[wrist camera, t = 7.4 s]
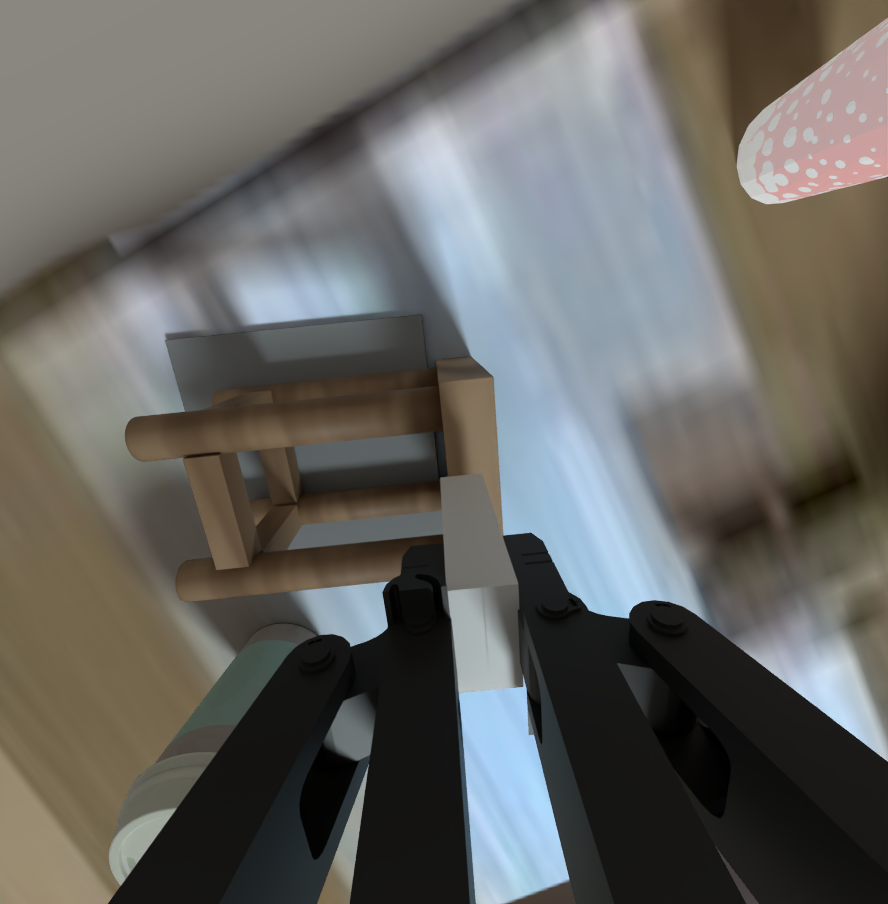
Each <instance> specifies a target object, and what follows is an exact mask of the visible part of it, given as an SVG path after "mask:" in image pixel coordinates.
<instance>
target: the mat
mask: <svg viewBox="0 0 888 904" xmlns="http://www.w3.org/2000/svg"><path fill="white" fill-rule="evenodd" d="M165 342H166V346H167V349H168V353H169V356H170V360H171V363H172V367H173V370H174V374H175V377H176V381H177V384H178V388H179V391H180V395H181V398H182V402H183V405H184V409H185V412H189V411H198V410H203V409H205V408H208V407H210V406H212V397H213V394H214V392H215V391H217V390H225V389H235V388H245V387H254V386H264V385H274V384H283V383H293V382H303V381H313V380H322V379H332V378H342V377H351V376H361V375H371V374H380V373H390V372H400V371H409V370H419V369H427V361H426V352H425V342H424V333H423V324H422V315H412V316H402V317H392V318H382V319H372V320H362V321H352V322H342V323H332V324H322V325H312V326H302V327H292V328H282V329H272V330H262V331H252V332H242V333H232V334H222V335H212V336H202V337H192V338H182V339H172V340H165ZM294 449H295V454H296V459H297V463H298V468H299V473H300V477H301V482H302V486H303V491H304V493H303V495H304V494H313V493H323V492H333V491H343V490H352V489H362V488H372V487H382V486H391V485H401V484H411V483H421V482H430V481H439V475H438V465H437V456H436V446H435V437H434V432H428V433H419V434H409V435H399V436H390V437H380V438H370V439H360V440H351V441H341V442H331V443H321V444H312V445H302V446H294ZM237 456H238V460H239V464H240V468H241V471H242V475H243V479H244V483H245V487H246V491H247V494H248V498H249V500H255V499H264V498H271V496H270V492H269V488H268V484H267V480H266V476H265V471H264V467H263V463H262V459H261V455H260V451H259V450H253V451H244V452H237ZM301 526H302V527H301V528H300V530H299V531H298V533H297V534H296V536H295V538H294V539H293V541H292V542H291V544H290V546H289V547H288V549H287V550H293V549H302V548H312V547H322V546H332V545H341V544H351V543H361V542H371V541H381V540H390V539H400V538H410V537H420V536H430V535H439V534H443V522H442V511H435V512H426V513H416V514H406V515H396V516H386V517H377V518H367V519H357V520H347V521H338V522H328V523H318V524H308V525H301Z"/></svg>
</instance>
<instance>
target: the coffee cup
mask: <svg viewBox="0 0 888 904" xmlns="http://www.w3.org/2000/svg"><path fill="white" fill-rule="evenodd" d="M316 636H317V635H315V634H314V633H313V632H311V631H310V630H308V629H306V628H304V627H301V626H298V625H294V624H286V623H282V624H273V625H269V626H266V627H264V628H262V629H260V630H259V631H257V632H256V633H255V634H254V635H253V636H252V637H251V638H250V639H249V641H248V642H247V643H246V644H245V646H244V647H243V648H242V650H241V651H240V652H239V654H238V655H237V656H236V657H235V659H234V660H233V661H232V663H231V664H230V665H229V667H228V668H227V669H226V671H225V672H224V673H223V674H222V676H221V677H220V678H219V680H218V681H217V682H216V684H215V685H214V686H213V688H212V689H211V690H210V692H209V693H208V694H207V696H206V697H205V698H204V699H203V701H202V702H201V703H200V705H199V706H198V707H197V709H196V710H195V711H194V713H193V714H192V715H191V717H190V718H189V719H188V720H187V722H186V723H185V724H184V726H183V727H182V728H181V730H180V731H179V732H178V734H177V735H176V736H175V738H174V739H173V740H172V742H171V743H170V744H169V745H168V747H167V748H166V749H165V751H164V752H163V753H162V755H161V756H160V757H159V759H158V760H157V761H156V763H155V764H154V765H152V766H150V767H149V768H147V769H146V770H145V771H143V772H142V773H141V774H140V775H139V776H138V777H137V778H136V779H135V781H134V782H133V784H132V785H131V787H130V789H129V791H128V794H127V797H126V799H125V801H124V802H123V804H122V806H121V809H120V812H119V816H118V826H117V829H116V831H115V834H114V837H113V839H112V842H111V845H110V849H109V863H110V867H111V870H112V873H113V875H114V877H115V878H116V880H117V881H118V883H119V884H120V885H122V884H123V882H124V881H125V879H126V878H127V877H128V875H129V874H130V872H131V871H132V870H133V868H134V867H135V866H136V864H137V863H138V861H139V860H140V859H141V857H142V856H143V854H144V853H145V852H146V850H147V849H148V848H149V846H150V845H151V843H152V842H153V841H154V839H155V838H156V836H157V835H158V834H159V832H160V831H161V830H162V828H163V827H164V825H165V824H166V823H167V821H168V820H169V818H170V817H171V816H172V814H173V813H174V812H175V810H176V809H177V807H178V806H179V805H180V803H181V802H182V800H183V799H184V798H185V796H186V795H187V794H188V792H189V791H190V789H191V788H192V787H193V785H194V784H195V782H196V781H197V780H198V778H199V777H200V776H201V774H202V773H203V771H204V770H205V769H206V767H207V766H208V764H209V763H210V762H211V760H212V759H213V758H214V756H215V755H216V753H217V752H218V751H219V749H220V748H221V746H222V745H223V744H224V742H225V741H226V740H227V738H228V737H229V735H230V734H231V733H232V731H233V730H234V728H235V727H236V726H237V724H238V723H239V722H240V720H241V719H242V717H243V716H244V715H245V713H246V712H247V710H248V709H249V708H250V706H251V705H252V704H253V702H254V701H255V699H256V698H257V697H258V695H259V694H260V692H261V691H262V690H263V688H264V687H265V686H266V684H267V683H268V681H269V680H270V679H271V677H272V676H273V674H274V673H275V672H276V670H277V669H278V668H279V666H280V665H281V663H282V662H283V661H284V659H285V658H286V656H287V655H288V654H289V653H290V652H291V651H292V650H293V649H294V648H295V647H296V646H298V645H299V644H301V643H303V642H304V641H306V640H308V639H310V638H313V637H316Z"/></svg>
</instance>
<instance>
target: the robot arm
mask: <svg viewBox="0 0 888 904" xmlns="http://www.w3.org/2000/svg"><path fill="white" fill-rule="evenodd" d="M440 486H441V504H442V522H443V540H444V543H437V544H427V545H417V546H411V547H410V548H409V549H408V550H407V551H406V553H405V554H404V555H403V557H402V565H401V574H400V575H399V576H397V577H395V578H393V579H392V580H391V581H390V582H389V583H388V584H386V586H385V588H384V590H383V598H384V605H385V611H386V617H387V623H388V628H387V629H386V630H385V631H384V632H383V633H382V634H380V635H379V636H377V637H376V638H373V639H371V640H369V641H366V642H364V643H361V644H358V645H355V646H352V647H350V643H349V642H348V641H347V640H346V639H345V638H343V637H341V636H337V635H333V634H330V635H319V636H316V637H313V638H310V639H308V640H306V641H304V642H303V643H301V644H299V645H298V646H296V647H295V648H294V649H293V650H292V651H291V652H290V653H289V654H288V655H287V656H286V658H285V659H284V661H283V662H282V663H281V665H280V666H279V668H278V669H277V670H276V672H275V673H274V674H273V676H272V677H271V679H270V680H269V681H268V683H267V684H266V686H265V687H264V688H263V690H262V691H261V692H260V694H259V695H258V697H257V698H256V699H255V701H254V702H253V704H252V705H251V706H250V708H249V709H248V710H247V712H246V713H245V715H244V716H243V717H242V719H241V720H240V722H239V723H238V724H237V726H236V727H235V728H234V730H233V731H232V733H231V734H230V735H229V737H228V738H227V740H226V741H225V742H224V744H223V745H222V746H221V748H220V749H219V751H218V752H217V753H216V755H215V756H214V758H213V759H212V760H211V762H210V763H209V764H208V766H207V767H206V769H205V770H204V771H203V773H202V774H201V776H200V777H199V778H198V780H197V781H196V782H195V784H194V785H193V787H192V788H191V789H190V791H189V792H188V794H187V795H186V796H185V798H184V799H183V800H182V802H181V803H180V805H179V806H178V807H177V809H176V810H175V812H174V813H173V814H172V816H171V817H170V818H169V820H168V821H167V823H166V824H165V825H164V827H163V828H162V830H161V831H160V832H159V834H158V835H157V836H156V838H155V839H154V841H153V842H152V843H151V845H150V846H149V848H148V849H147V850H146V852H145V853H144V854H143V856H142V857H141V859H140V860H139V861H138V863H137V864H136V866H135V867H134V868H133V870H132V871H131V872H130V874H129V875H128V877H127V878H126V879H125V881H124V882H123V884H122V885H121V886H120V888H119V889H118V890H117V892H116V893H115V895H114V896H113V897H112V899H111V900H110V902H109V903H108V904H317V902H318V899H319V897H320V894H321V891H322V888H323V886H324V883H325V880H326V878H327V875H328V872H329V870H330V867H331V864H332V861H333V859H334V856H335V853H336V851H337V848H338V845H339V843H340V840H341V837H342V835H343V832H344V829H345V826H346V824H347V821H348V818H349V816H350V813H351V810H352V808H353V805H354V802H355V799H356V797H357V794H358V791H359V789H360V786H361V783H362V781H363V778H364V775H365V772H366V770H367V767H368V764H369V767H368V774H367V782H366V789H365V796H364V803H363V811H362V818H361V825H360V832H359V840H358V847H357V854H356V861H355V869H354V876H353V883H352V890H351V898H350V904H476V902H475V889H474V876H473V864H472V851H471V838H470V825H469V812H468V800H467V787H466V774H465V761H464V748H463V736H462V723H461V711H460V702H459V693H464V692H474V691H484V690H495V689H505V688H515V687H523V676H524V680H525V684H526V688H527V704H528V727H529V735H533V734H534V736H535V740H536V744H537V748H538V752H539V756H540V760H541V764H542V769H543V773H544V777H545V781H546V785H547V789H548V793H549V797H550V801H551V805H552V809H553V813H554V818H555V822H556V826H557V830H558V834H559V838H560V842H561V846H562V850H563V854H564V858H565V862H566V866H567V871H568V875H569V879H570V883H571V887H572V890H573V895H574V899H575V903H576V904H746V903H745V901H744V899H743V897H742V896H741V893H740V891H739V890H738V888H737V886H736V884H735V882H734V880H733V878H732V877H731V875H730V873H729V871H728V869H727V868H726V865H725V863H724V862H723V860H722V858H721V856H720V854H719V852H718V850H719V851H720V853H721V854H722V855H723V857H724V858H725V859H726V860H727V862H728V863H729V864H730V866H731V867H732V868H733V870H734V871H735V872H736V874H737V875H738V876H739V878H740V879H741V880H742V882H743V883H744V884H745V885H746V887H747V888H748V890H749V891H750V892H751V893H752V895H753V896H754V897H755V899H756V900H757V901H758V903H759V904H888V762H887V761H886V760H885V759H883V758H882V757H881V756H879V755H878V754H877V753H876V752H874V751H873V750H872V749H870V748H869V747H868V746H866V745H865V744H864V743H863V742H861V741H860V740H859V739H857V738H856V737H855V736H853V735H852V734H851V733H850V732H848V731H847V730H846V729H844V728H843V727H842V726H840V725H839V724H838V723H836V722H835V721H834V720H833V719H831V718H830V717H829V716H827V715H826V714H825V713H823V712H822V711H821V710H820V709H818V708H817V707H816V706H814V705H813V704H812V703H810V702H809V701H808V700H806V699H805V698H804V697H803V696H801V695H800V694H799V693H797V692H796V691H795V690H793V689H792V688H791V687H790V686H788V685H787V684H786V683H784V682H783V681H782V680H780V679H779V678H778V677H777V676H775V675H774V674H773V673H771V672H770V671H769V670H767V669H766V668H765V667H763V666H762V665H761V664H760V663H758V662H757V661H756V660H754V659H753V658H752V657H750V656H749V655H748V654H747V653H745V652H744V651H743V650H741V649H740V648H739V647H737V646H736V645H735V644H733V643H732V642H731V641H730V640H728V639H727V638H726V637H724V636H723V635H722V634H720V633H719V632H718V631H717V630H715V629H714V628H713V627H711V626H710V625H709V624H707V623H706V622H705V621H704V620H702V619H701V618H700V617H698V616H697V615H696V614H694V613H693V612H691V611H689V610H687V609H686V608H684V607H682V606H679V605H676V604H673V603H670V602H665V601H656V600H654V601H646V602H641V603H639V604H637V605H636V606H634V607H633V608H632V610H631V612H630V613H629V619H627V618H620V617H612V616H605V615H601V614H597V613H594V612H591V611H589V610H588V608H587V607H586V605H585V604H584V603H583V602H582V600H581V599H580V598H578V597H576V596H575V595H573V594H571V593H569V592H568V590H567V588H566V586H565V584H564V582H563V580H562V578H561V576H560V574H559V572H558V570H557V568H556V566H555V564H554V563H553V562H552V559H551V557H550V555H549V554H548V551H547V549H546V547H545V545H544V543H543V541H542V540H540V539H539V538H538V537H536V536H535V535H533V534H532V533H525V534H515V535H505V536H502V533H501V530H500V527H499V524H498V521H497V518H496V515H495V512H494V509H493V506H492V503H491V500H490V497H489V494H488V490H487V487H486V484H485V481H484V478H483V475H482V473H480V474H470V475H460V476H450V477H440ZM715 846H716V847H717V849H718V850H717V849H716V847H715Z"/></svg>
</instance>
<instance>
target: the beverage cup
mask: <svg viewBox="0 0 888 904" xmlns="http://www.w3.org/2000/svg"><path fill="white" fill-rule="evenodd" d="M737 170H738V174H739V179H740V183H741V185H742V187H743V188H744V189H745V190H746V192H747V193H748V194H749V195H750V197H751V198H753V199H755V200H758V201H760V202H762V203H765V204H774V203H785V202H789V201H793V200H797V199H800V198H804V197H808V196H812V195H816V194H820V193H824V192H828V191H832V190H836V189H840V188H844V187H848V186H852V185H856V184H860V183H864V182H868V181H872V180H876V179H880V178H884V177H888V18H887V19H885V20H884V21H883V22H881V23H880V24H879V25H877V26H876V27H875V28H873V29H872V30H870V31H869V32H868V33H866V34H865V35H864V36H862V37H861V38H860V39H858V40H857V41H856V42H854V43H853V44H851V45H850V46H849V47H847V48H846V49H845V50H843V51H842V52H841V53H839V54H838V55H837V56H835V57H834V58H832V59H831V60H830V61H828V62H827V63H826V64H824V65H823V66H822V67H820V68H819V69H818V70H816V71H815V72H813V73H812V74H811V75H809V76H808V77H807V78H805V79H804V80H803V81H801V82H800V83H799V84H797V85H796V86H794V87H793V88H792V89H790V90H789V91H788V92H786V93H785V94H784V95H782V96H781V97H780V98H778V99H777V100H775V101H774V102H773V103H771V104H770V105H769V106H767V107H766V108H765V109H763V110H762V111H761V113H760V114H759V115H758V116H757V117H756V118H755V119H754V120H753V121H752V122H751V123H750V125H749V126H748V128H747V130H746V132H745V134H744V136H743V138H742V141H741V143H740V145H739V151H738V159H737Z"/></svg>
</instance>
